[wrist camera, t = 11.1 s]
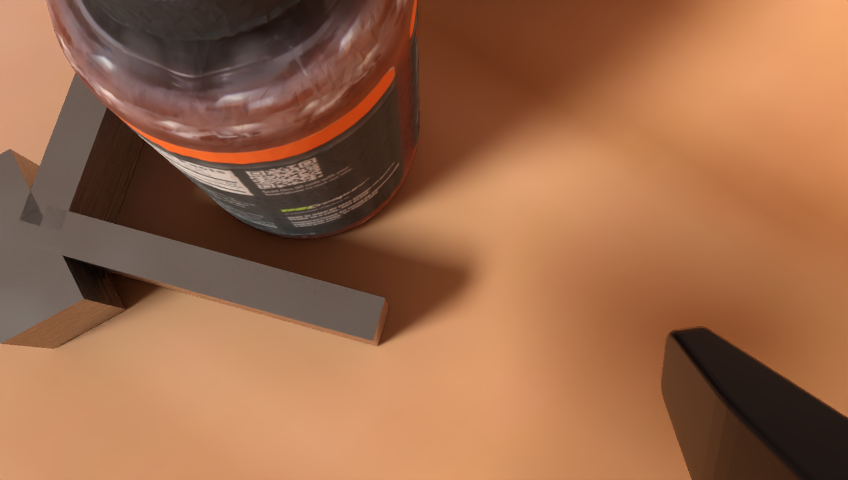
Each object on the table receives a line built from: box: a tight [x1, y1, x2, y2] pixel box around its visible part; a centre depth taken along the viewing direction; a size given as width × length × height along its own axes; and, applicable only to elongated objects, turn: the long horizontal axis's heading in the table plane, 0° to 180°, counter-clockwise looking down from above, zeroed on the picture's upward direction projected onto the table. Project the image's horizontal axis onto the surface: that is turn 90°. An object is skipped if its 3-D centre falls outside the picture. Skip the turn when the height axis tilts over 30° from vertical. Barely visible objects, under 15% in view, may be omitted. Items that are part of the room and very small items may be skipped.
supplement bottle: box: [46, 0, 419, 239], centre depth 15 cm, size 6×6×11 cm
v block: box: [0, 73, 389, 349], centre depth 19 cm, size 8×12×2 cm, turn 30°
